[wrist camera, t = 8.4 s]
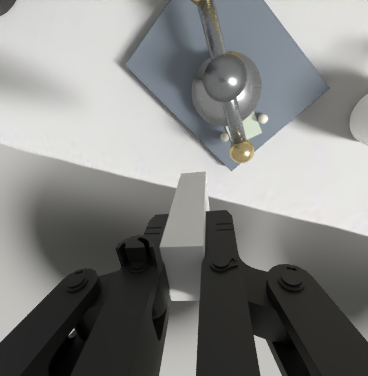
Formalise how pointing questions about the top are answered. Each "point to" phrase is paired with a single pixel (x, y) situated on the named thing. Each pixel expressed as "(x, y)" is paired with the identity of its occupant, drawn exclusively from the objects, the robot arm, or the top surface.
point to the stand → (234, 41)
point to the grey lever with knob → (225, 85)
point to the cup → (360, 120)
